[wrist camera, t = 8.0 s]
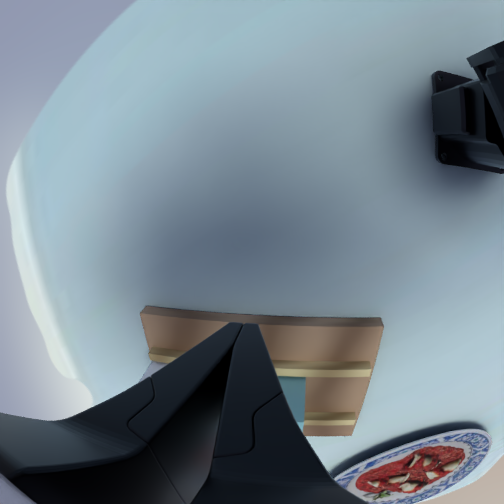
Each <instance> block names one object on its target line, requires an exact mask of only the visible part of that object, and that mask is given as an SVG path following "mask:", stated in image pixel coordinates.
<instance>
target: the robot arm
mask: <svg viewBox="0 0 504 504" xmlns="http://www.w3.org/2000/svg"><path fill="white" fill-rule="evenodd" d="M467 60H468V62H469V64H470V66H471V68H472V67H473V68H474V70H475V72H476V74H477V76H478V78H479V79H476V80H472V79H469V78H465V77H462V76H458V75H455V74H451V73H447V72H443V71H436V72H434V73H433V75H432V79H433V90H434V95H433V96H432V109H433V131H434V133H435V134H436V154H435V155H436V159H437V161H438V162H439V163H442V164H448V165H455V166H461V167H467V168H473V169H479V170H484V171H489V172H495V173H499V174H503V173H504V41H502V42H500V43H497V44H495V45H493V46H490V47H488V48H486V49H484V50H482V51H480V52H478V53H476V54H474V55H472V56H470V57H468V58H467ZM438 75H439V76H440V77H441V79H442V81H440V80H439V79H438ZM442 153H443V154H444V156H445V157H444V159H443V160H442V158H441V154H442ZM500 168H501V169H500ZM0 504H370V503H368V502H366V501H364V500H363V499H361V498H359V497H358V496H356V495H354V494H353V493H351V492H349V491H348V490H346V489H345V488H343V487H342V486H341V485H339V484H338V483H337V482H336V481H335V480H334V479H333V477H332V476H331V475H330V474H329V472H328V471H327V470H326V468H325V467H324V465H323V464H322V462H321V461H320V459H319V458H318V456H317V454H316V453H315V451H314V450H313V448H312V447H311V445H310V443H309V442H308V440H307V439H306V437H305V436H304V434H303V432H302V431H301V429H300V427H299V425H298V423H297V422H296V420H295V418H294V416H293V414H292V411H291V409H290V407H289V404H288V402H287V399H286V397H285V394H284V392H283V389H282V387H281V384H280V381H279V379H278V376H277V373H276V371H275V368H274V365H273V363H272V360H271V357H270V354H269V352H268V349H267V346H266V344H265V341H264V338H263V335H262V333H261V330H260V327H259V325H258V324H256V323H245V324H243V323H239V322H229V323H228V324H226V325H225V326H223V327H222V328H220V329H219V330H218V331H216V332H215V333H213V334H212V335H210V336H209V337H207V338H206V339H204V340H203V341H202V342H200V343H199V344H197V345H196V346H194V347H193V348H191V349H190V350H188V351H187V352H185V353H184V354H182V355H181V356H179V357H178V358H176V359H175V360H173V361H172V362H170V363H169V364H167V365H166V366H164V367H163V368H161V369H160V370H158V371H156V372H155V373H153V374H152V375H151V377H150V376H149V377H147V378H145V379H144V380H142V381H141V382H139V383H137V384H136V385H134V386H132V387H131V388H129V389H127V390H126V391H124V392H122V393H120V394H118V395H116V396H114V397H112V398H110V399H108V400H106V401H104V402H102V403H100V404H98V405H96V406H94V407H92V408H89V409H87V410H85V411H83V412H81V413H79V414H76V415H74V416H72V417H69V418H67V419H63V420H57V421H45V420H38V419H31V418H25V417H19V416H14V415H9V414H4V413H0Z"/></svg>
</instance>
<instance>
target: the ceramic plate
mask: <svg viewBox="0 0 504 504" xmlns="http://www.w3.org/2000/svg"><path fill="white" fill-rule="evenodd" d="M491 445H492V438H491V436H490V435H489V433H487V432H486V431H484V430H480V429H463V430H455V431H449V432H445V433H441V434H438V435H434V436H430V437H426V438H423V439H420V440H417V441H414V442H410V443H407V444H404V445H402V446H399V447H397V448H394V449H391V450H388V451H385V452H383V453H381V454H378V455H376V456H374V457H371V458H369V459H367V460H365V461H363V462H360V463H358V464H356V465H354V466H352V467H351V468H349V469H347V470H345V471H343V472H342V473H340V474H339V475H337V476H336V477H335V478H333V479H334V480H335V481H336V482H337V483H338V484H339V485H341V486H342V487H343V488H345V489H346V490H348V491H349V492H351V493H353V494H354V495H356V496H358V497H359V498H361V499H363V500H364V501H366V502H368V503H370V504H413V503H416V502H419V501H422V500H424V499H427V498H429V497H432V496H434V495H436V494H438V493H440V492H442V491H444V490H446V489H448V488H449V487H451V486H453V485H454V484H456V483H457V482H459V481H460V480H462V479H463V478H465V477H466V476H467V475H468V474H470V473H471V472H472V471H473V470H474V469H475V468H476V467H477V466H478V465H479V464H480V463H481V462H482V461H483V459H484V458H485V457H486V455H487V454H488V452H489V450H490V448H491Z"/></svg>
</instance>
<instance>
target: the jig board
mask: <svg viewBox="0 0 504 504" xmlns="http://www.w3.org/2000/svg"><path fill="white" fill-rule="evenodd" d="M140 316H141V320H142V324H143V328H144V332H145V336H146V340H147V343H148V347H149V353H148V354H149V357H150V360H152V361H157V362H163V363H168V364H169V363H170V362H172V361H173V360H175V359H176V358H178V357H179V356H181V355H182V354H184V353H185V352H187V351H188V350H190V349H191V348H193V347H194V346H196V345H197V344H199V343H200V342H202V341H203V340H204V339H206V338H207V337H209V336H210V335H212V334H213V333H215V332H216V331H218V330H219V329H220V328H222V327H223V326H225V325H226V324H228V323H229V322H239V323H243V324H245V323H256V324H258V325H259V327H260V330H261V333H262V335H263V338H264V341H265V344H266V346H267V349H268V352H269V354H270V357H271V360H272V363H273V365H274V368H275V371H276V373H277V376H293V377H306V388H305V413H304V426H303V434H304V436H352V433H353V430H354V428H355V425H356V422H357V419H358V416H359V414H360V411H361V408H362V405H363V402H364V398H365V395H366V392H367V389H368V386H369V382H370V379H371V375H372V372H373V368H374V365H375V361H376V357H377V353H378V349H379V345H380V341H381V337H382V333H383V328H384V325H383V323H382V320H381V318H317V317H284V316H262V315H244V314H229V313H215V312H202V311H191V310H180V309H170V308H160V307H151V306H146V307H145V308H144V309H143V310H142V311H141V312H140Z"/></svg>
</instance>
